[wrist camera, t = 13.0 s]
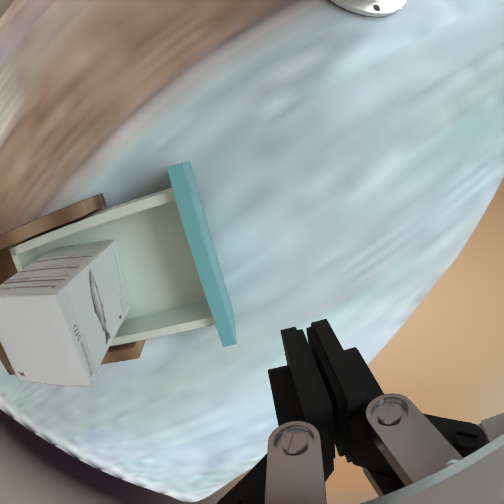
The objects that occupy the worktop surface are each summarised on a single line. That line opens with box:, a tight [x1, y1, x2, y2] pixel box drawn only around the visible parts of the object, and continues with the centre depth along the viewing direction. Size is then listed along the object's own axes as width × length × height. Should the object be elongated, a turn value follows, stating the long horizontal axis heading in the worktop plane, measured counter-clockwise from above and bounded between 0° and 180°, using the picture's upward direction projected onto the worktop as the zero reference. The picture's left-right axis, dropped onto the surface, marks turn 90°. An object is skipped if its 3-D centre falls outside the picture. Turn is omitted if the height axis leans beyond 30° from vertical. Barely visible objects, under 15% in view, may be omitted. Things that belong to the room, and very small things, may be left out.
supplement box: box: [0, 240, 130, 386], centre depth 23 cm, size 7×7×13 cm
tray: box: [9, 162, 236, 347], centre depth 27 cm, size 19×16×5 cm
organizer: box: [0, 194, 145, 375], centre depth 28 cm, size 19×15×6 cm
